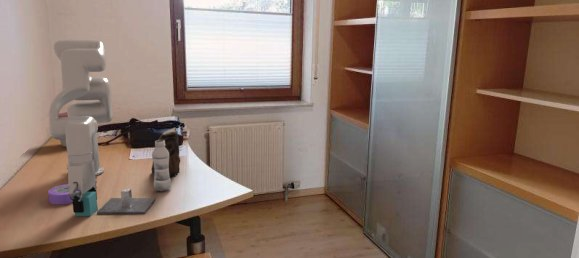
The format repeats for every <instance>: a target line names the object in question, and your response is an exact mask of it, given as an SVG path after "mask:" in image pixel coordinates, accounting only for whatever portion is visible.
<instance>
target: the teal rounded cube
mask: <svg viewBox="0 0 579 258" xmlns="http://www.w3.org/2000/svg"><path fill="white" fill-rule="evenodd" d="M96 192H97V191H96ZM96 192H86V193H84V194H83V196H82V201H83V205H84V212H83V213H74V217H92V216H93V215H94V214H95V213H97V211H98V210H99V209H98V197H97V198H96ZM77 196H78V197H79V195H77Z"/></svg>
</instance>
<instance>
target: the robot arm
mask: <svg viewBox="0 0 579 258" xmlns="http://www.w3.org/2000/svg"><path fill="white" fill-rule="evenodd" d="M53 49H54V51H53V52H54V54H55V56H56V57H57V59H58V60H59V61H60V68H61V69H60V70H61V80H62V81H61V82H62V89H61V91H60V92H59V93H57V95H56V96H55V97H54V98H53V100H52V101H51V103H50V106H49V109H48V111H49V112H48V117H49V131H50V135H51V137H52V138H53V139H54V140H55V139H56V140H58V141H60V140H65V139H66V146H67V147H66V152H67V161H68V163H67V164H66V169H67V181H68V182H67V184H68V187H69V196H70V199H71V201H72V203H71V204H72V209H73V213H74V214H75V213H83V212H84V205H83V201H82V196H83V194H84V193H86V192H96V198H97V199H98V196H97V189H98V187H97V182H98V181H97V176H100V175H102V174H103V173H104V172H105V169H104V167H103V166H100V165H101V164H100V154H99V153H100V151H99V144H98V129H99V127H98V126H99V125H98V124H102V123H103V124H104V123H105V124H106V123H109V122H111V121H112V120H113V118H114V109H113V99H112V98H113V97H112V88H111V83H110V81H109V79H108V78H106V77H102V76H93V77H92V76H91V75H90V73H96V72H97V73H99V72H100V73H102V72H104V71H105V70H106V68H107V55H106V47H105V46H104V43H103V41H101V40H95V39H94V40H92V39H91V40H90V39H88V40H87V39H83V40H82V39H62V40H61V39H60V40H57V41H55V42H54V43H53ZM72 101H76V102H72ZM71 102H72V103H71ZM68 103H70V104H69V105H68V107H67V108H66V112H67V115H68V117H62V118H59V114H60V110H61V109H62V108H63V107H64V106H65V105H67V104H68ZM76 191H81V192H76ZM77 195H79V197H78V196H77Z"/></svg>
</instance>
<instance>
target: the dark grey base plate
mask: <svg viewBox="0 0 579 258" xmlns="http://www.w3.org/2000/svg"><path fill="white" fill-rule="evenodd" d="M132 194H133V193H132V188H123V189H122V190H121V191H120V195H121V197H111V198H109V200H108V201H106V202H105V204H104V205H102V206H101V208H99V209H98V210H97V211H96V214H97V215H145V214H146V213H147V212H148V211H149V210H150V208H151V207H152V205H154V203H155V201H156V198H155V197H133V196H132Z"/></svg>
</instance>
